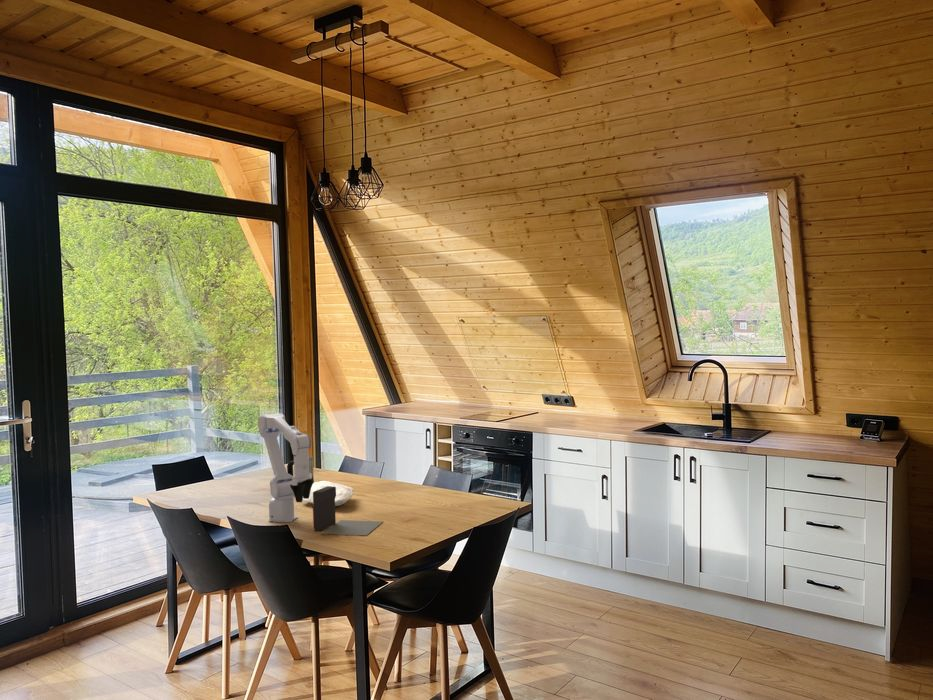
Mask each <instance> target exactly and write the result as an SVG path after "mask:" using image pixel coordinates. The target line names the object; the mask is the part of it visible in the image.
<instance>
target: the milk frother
mask: <svg viewBox="0 0 933 700" xmlns="http://www.w3.org/2000/svg"><path fill="white" fill-rule="evenodd" d="M314 459H315V458H314V456H309V473H312V479H313V480H314ZM286 471H287V473H288V474H290V475H292V476H294V459H293V460H290V461H288V463H287V465H286ZM313 483H315V480H314V482H313Z"/></svg>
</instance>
